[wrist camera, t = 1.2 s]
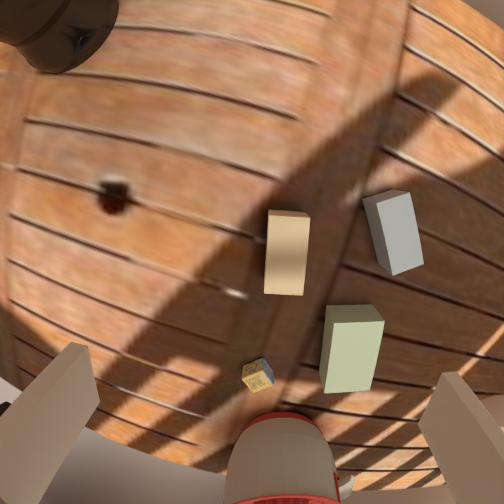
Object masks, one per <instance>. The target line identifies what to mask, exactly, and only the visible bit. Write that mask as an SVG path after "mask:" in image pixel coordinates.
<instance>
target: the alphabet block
mask: <svg viewBox="0 0 504 504" xmlns="http://www.w3.org/2000/svg"><path fill="white" fill-rule="evenodd" d="M242 380H243V381H244V383H245V384H246V385H247V386H248V388H249V389H250V390H251V391H252V393H255V392H258V391H260V390H263V389H265V388H268V387H270V386H273V385H274V373H273V370H272V369H271V368H270V366H269V365H268V363H267V362H266V361H265V359H264V358H260V359H258V360H256V361H253V362H251V363H249V364H246V365H244V366H243V370H242Z"/></svg>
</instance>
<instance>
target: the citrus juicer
mask: <svg viewBox="0 0 504 504" xmlns="http://www.w3.org/2000/svg"><path fill="white" fill-rule="evenodd" d="M353 484H354V477H353V475H350V476H347V477H345V478H342V479H339V477H338V476H337V471H336V466H335V462H334V459H333V455H332V452H331V449H330V447H329V445H328V443H327V441H326V439H325V438H324V437H323V434H322V432H321V431H320V430H319V428H318V427H317V426H316V425H315V424H314V423H313V422H312V421H311V420H310V419H309V418H307V417H305V416H303V415H301V414H297V413H293V412H272V413H268V414H264V415H262V416H259V417H257V418H255V419H253V420H252V421H251V422H250V423H249V424H248V425H247V426H246V427H245V428H244V430H243V431H242V432H241V434H240V435H239V437H238V440H237V442H236V444H235V446H234V449H233V451H232V454H231V456H230V459H229V464H228V468H227V475H226V483H225V491H224V499H223V504H341V501H340V500H342V499H344V498H346V497H347V496H349V495H350V494H351V491H352V487H353Z"/></svg>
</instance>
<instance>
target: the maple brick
mask: <svg viewBox="0 0 504 504" xmlns="http://www.w3.org/2000/svg"><path fill="white" fill-rule="evenodd" d="M309 227H310V217H309V216H308V215H307V214H306V213H305V212H300V211H285V210H269V209H268V226H267V243H266V259H265V275H264V293H266V294H284V295H303V289H304V280H305V270H306V260H307V250H308V239H309Z"/></svg>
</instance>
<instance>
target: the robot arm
mask: <svg viewBox="0 0 504 504" xmlns="http://www.w3.org/2000/svg"><path fill="white" fill-rule="evenodd" d="M117 14H118V0H0V41H1V42H3V43H6V44H9V45H12V46H14V47H16V48H17V49H18V50H19V52H20V53H21V54H22V55H23V56H24V57H25V58H26V59H27V61H28V62H29V64H30V65H31V66H33V67H34V68H36V69H38V70H41V71H44V72H47V73H61V72H65V71H68V70H70V69H72V68H74V67H76V66H78V65H79V64H81V63H82V62H84V61H85V60H86V59H88V58H89V57H90V56H91V55H92V54H93V53H94V52H95V51H96V50H97V49H98V48H99V47H100V46H101V44H102V43H103V42H104V41H105V39H106V38H107V36H108V35H109V33H110V31H111V30H112V28H113V25H114V23H115V21H116V18H117ZM99 403H100V400H99V396H98V392H97V387H96V383H95V379H94V374H93V370H92V365H91V360H90V355H89V349H88V346H86V345H81V344H77V343H74V342H71V343H70V344H69V345H68V346H67V347H66V348H65V349H64V350H63V351H62V352H61V353H60V354H59V355H58V356H57V357H56V358H55V359H54V360H53V361H52V362H51V363H50V364H49V365H48V366H47V367H46V368H45V369H44V370H43V371H42V372H41V373H40V374H39V375H38V376H37V377H36V378H35V379H34V380H33V382H32V383H31V384H30V385H29V386H28V387H27V388H26V389H25V390H24V391H23V392H22V393H21V394H20V395H19V397H18V398H17V399H16V400H15V401H14V402H13V403H12V404H11V403H9V402H4V403H2V404H0V504H38V503H39V501H40V500H41V498H42V496H43V494H44V493H45V491H46V489H47V487H48V486H49V484H50V482H51V480H52V479H53V477H54V476H55V474H56V472H57V470H58V469H59V467H60V465H61V464H62V462H63V460H64V459H65V457H66V455H67V454H68V452H69V450H70V449H71V447H72V446H73V444H74V442H75V441H76V439H77V437H78V436H79V434H80V433H81V431H82V429H83V428H84V426H85V425H86V423H87V421H88V420H89V418H90V417H91V415H92V414H93V412H94V410H95V409H96V407H97V406H98V404H99ZM418 426H419V428H420V430H421V432H422V434H423V436H424V438H425V440H426V442H427V444H428V446H429V448H430V450H431V452H432V454H433V456H434V458H435V460H436V462H437V464H438V466H439V468H440V470H441V473H442V475H443V477H444V479H445V481H446V483H447V485H448V488H449V490H450V492H451V494H452V496H453V499H454V501H455V503H456V504H504V432H503V431H502V430H501V428H500V427H499V426H498V424H497V423H496V422H495V420H494V419H493V418H492V416H491V415H490V413H489V412H488V411H487V409H486V408H485V407H484V405H483V404H482V403H481V402H480V400H479V399H478V398H477V396H476V395H475V394H474V393H473V391H472V390H471V389H470V387H469V386H468V385H467V384H466V382H465V381H464V380H463V379H462V377H461V376H460V375H459V374H458V373H457V371H456V372H446V373H442V374H441V377H440V379H439V381H438V383H437V386H436V388H435V390H434V392H433V394H432V397H431V399H430V401H429V403H428V405H427V407H426V409H425V411H424V413H423V415H422V417H421V419H420V421H419V423H418Z"/></svg>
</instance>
